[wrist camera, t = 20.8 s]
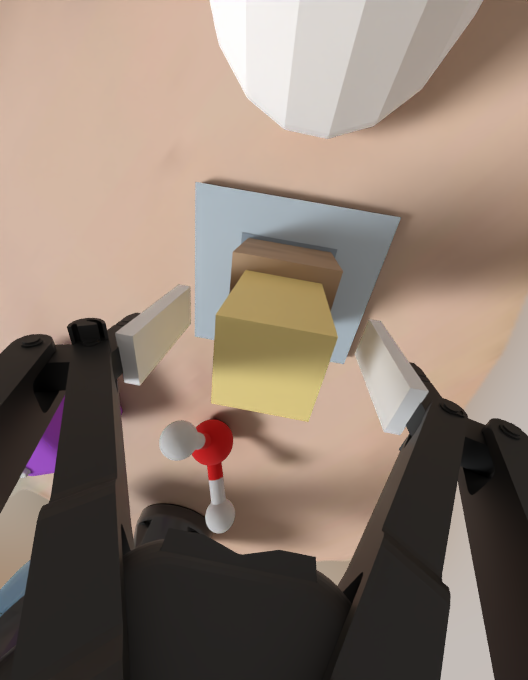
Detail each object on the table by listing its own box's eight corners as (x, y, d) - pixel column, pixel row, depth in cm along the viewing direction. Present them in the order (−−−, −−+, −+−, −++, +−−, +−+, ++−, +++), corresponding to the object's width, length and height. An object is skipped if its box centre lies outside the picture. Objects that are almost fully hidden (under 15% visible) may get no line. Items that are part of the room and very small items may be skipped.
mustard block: (304, 348, 18) (308, 421, 12) (238, 336, 19) (210, 403, 13) (322, 283, 16) (338, 337, 10) (245, 269, 16) (215, 314, 10)
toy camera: (56, 328, 29) (-43, 382, 21) (138, 404, 35) (86, 473, 26) (11, 362, 33) (-88, 421, 25) (92, 427, 38) (33, 493, 30)
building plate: (341, 357, 27) (343, 364, 26) (198, 331, 27) (194, 336, 26) (395, 216, 20) (401, 217, 19) (200, 182, 20) (195, 181, 19)
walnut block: (310, 326, 24) (314, 361, 19) (240, 313, 24) (225, 345, 19) (331, 252, 21) (343, 271, 15) (248, 237, 21) (232, 251, 15)
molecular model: (250, 462, 38) (237, 539, 30) (217, 463, 39) (195, 538, 31) (217, 372, 30) (186, 443, 21) (176, 377, 31) (131, 446, 23)
